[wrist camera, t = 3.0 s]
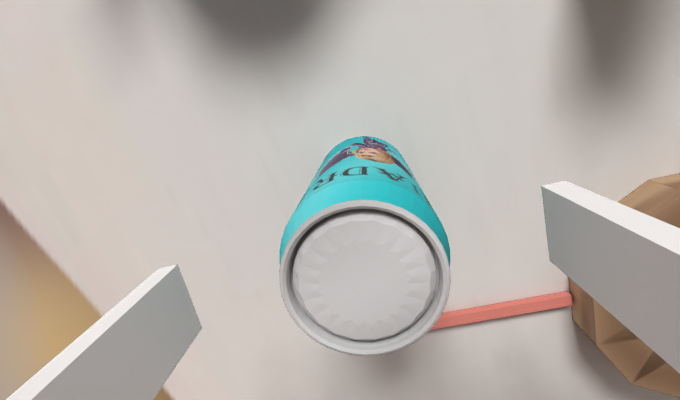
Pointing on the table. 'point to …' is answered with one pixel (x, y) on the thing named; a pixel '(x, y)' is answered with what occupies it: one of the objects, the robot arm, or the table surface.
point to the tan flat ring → (609, 333)
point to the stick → (504, 309)
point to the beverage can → (364, 253)
